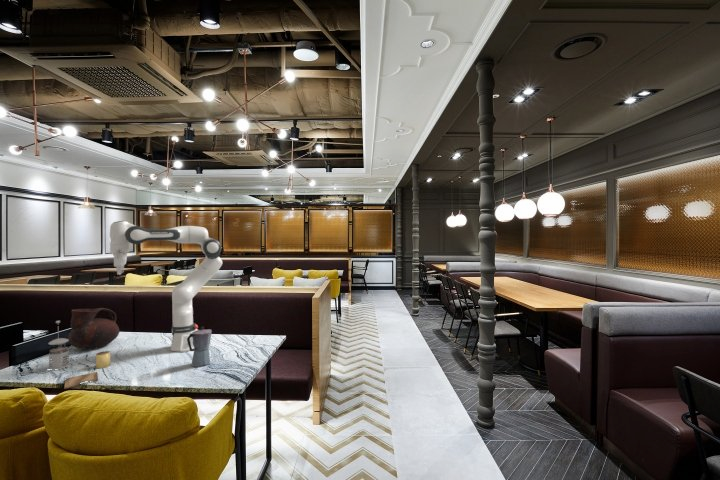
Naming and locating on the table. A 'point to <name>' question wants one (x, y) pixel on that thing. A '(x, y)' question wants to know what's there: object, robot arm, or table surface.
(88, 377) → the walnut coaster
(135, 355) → the table surface
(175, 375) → the table surface
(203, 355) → the moka pot
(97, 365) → the ochre cup
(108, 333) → the jug
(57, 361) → the french press
